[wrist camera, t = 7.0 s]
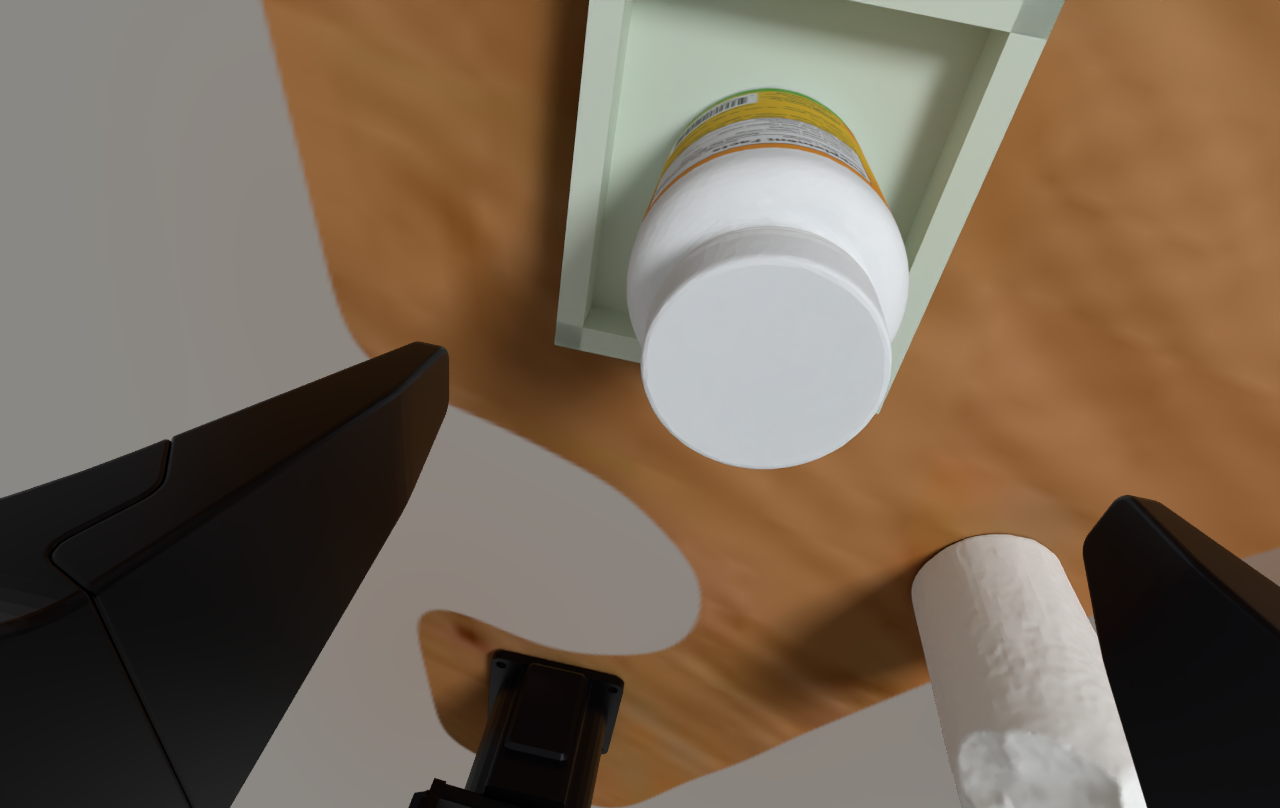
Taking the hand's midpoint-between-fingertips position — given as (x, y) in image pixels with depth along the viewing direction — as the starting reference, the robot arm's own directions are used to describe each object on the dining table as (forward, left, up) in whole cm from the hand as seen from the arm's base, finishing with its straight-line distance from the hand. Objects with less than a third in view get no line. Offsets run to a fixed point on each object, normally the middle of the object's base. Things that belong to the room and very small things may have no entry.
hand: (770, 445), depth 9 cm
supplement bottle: (0, 0, -12) cm, 12 cm away
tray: (0, 0, -12) cm, 12 cm away
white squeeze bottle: (-14, -12, -13) cm, 22 cm away
